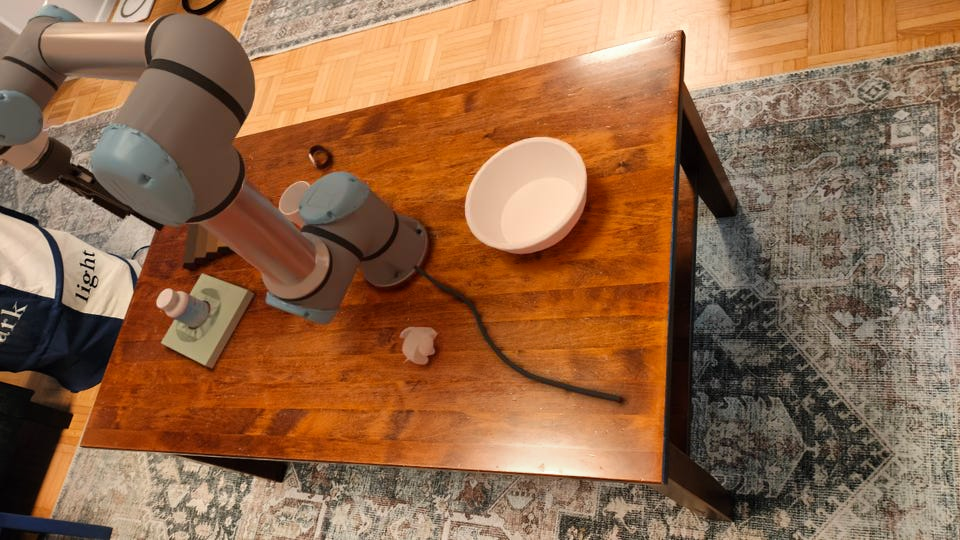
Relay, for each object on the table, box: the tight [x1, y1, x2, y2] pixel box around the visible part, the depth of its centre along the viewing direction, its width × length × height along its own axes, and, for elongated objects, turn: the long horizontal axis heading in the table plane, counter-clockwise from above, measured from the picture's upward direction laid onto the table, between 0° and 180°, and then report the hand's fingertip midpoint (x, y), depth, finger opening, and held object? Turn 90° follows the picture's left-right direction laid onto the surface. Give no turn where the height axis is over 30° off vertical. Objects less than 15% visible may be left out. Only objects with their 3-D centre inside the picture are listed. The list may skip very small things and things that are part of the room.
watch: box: [308, 144, 332, 171], centre depth 153 cm, size 8×5×4 cm, turn 28°
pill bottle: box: [156, 287, 211, 330], centre depth 144 cm, size 6×6×11 cm
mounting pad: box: [160, 273, 255, 369], centre depth 146 cm, size 18×18×2 cm
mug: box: [277, 180, 312, 229], centre depth 139 cm, size 12×8×12 cm
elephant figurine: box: [399, 326, 439, 365], centre depth 114 cm, size 7×8×6 cm
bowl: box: [464, 136, 588, 255], centre depth 115 cm, size 22×22×8 cm
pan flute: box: [182, 223, 234, 271], centre depth 161 cm, size 25×3×25 cm
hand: (144, 219), depth 124 cm, fingers open, 13 cm apart
